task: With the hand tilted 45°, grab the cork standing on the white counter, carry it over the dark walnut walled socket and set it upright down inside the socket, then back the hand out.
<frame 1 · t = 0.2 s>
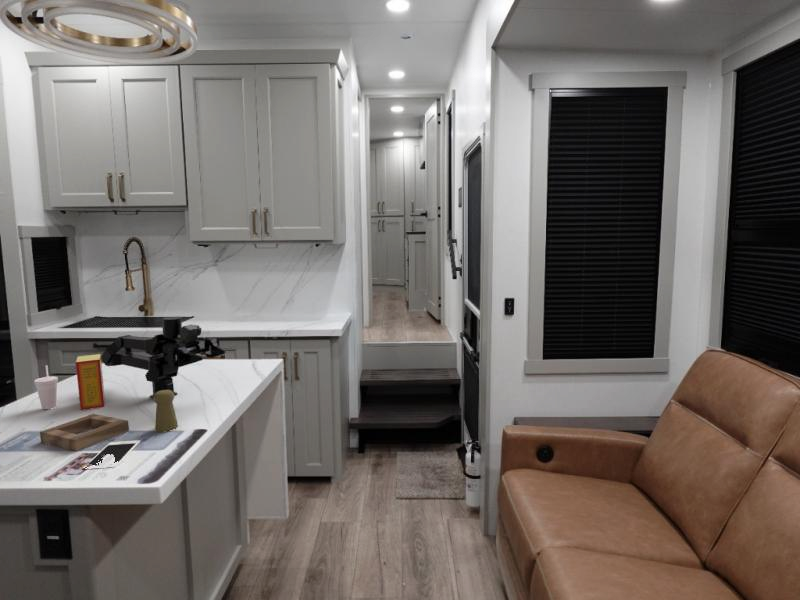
hand: (213, 355, 163), 17 cm above the table, tool horizontal, fingers open, 9 cm apart
smoothie: (49, 408, 167), on the table
walnut socket: (86, 436, 142), on the table
baking soda box: (93, 404, 169), on the table
cork: (166, 429, 147), on the table
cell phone: (113, 456, 130), on the table
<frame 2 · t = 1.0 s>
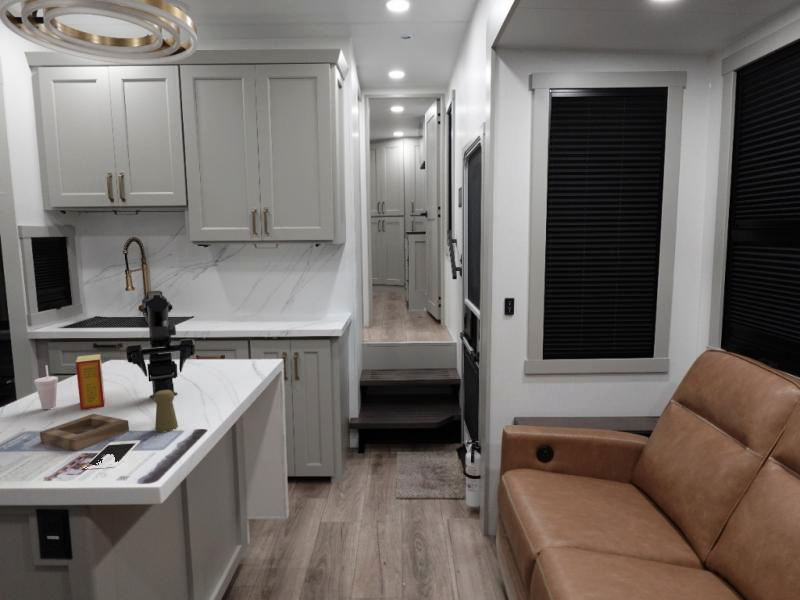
hand: (163, 373, 152), 14 cm above the table, tool tilted 45°, fingers open, 9 cm apart
nothing on the table moved.
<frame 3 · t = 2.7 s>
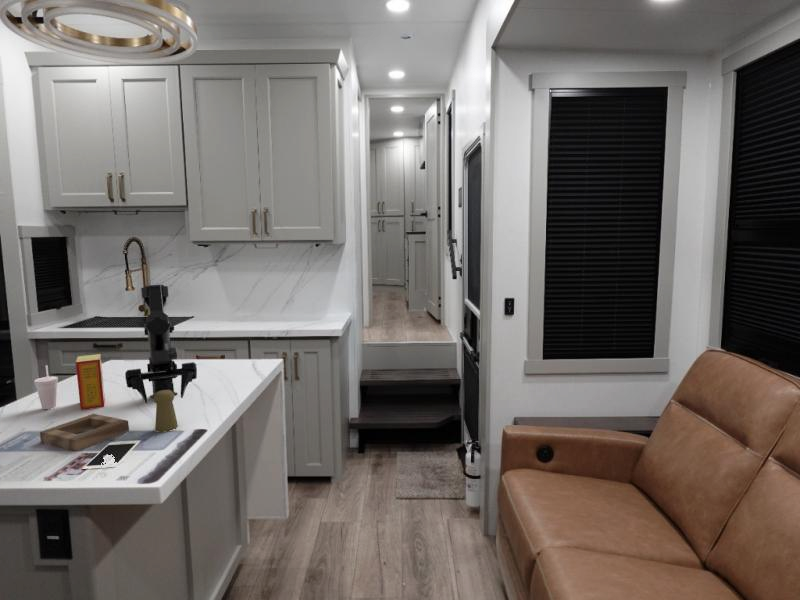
hand: (164, 400, 146), 8 cm above the table, tool tilted 45°, fingers open, 9 cm apart
nothing on the table moved.
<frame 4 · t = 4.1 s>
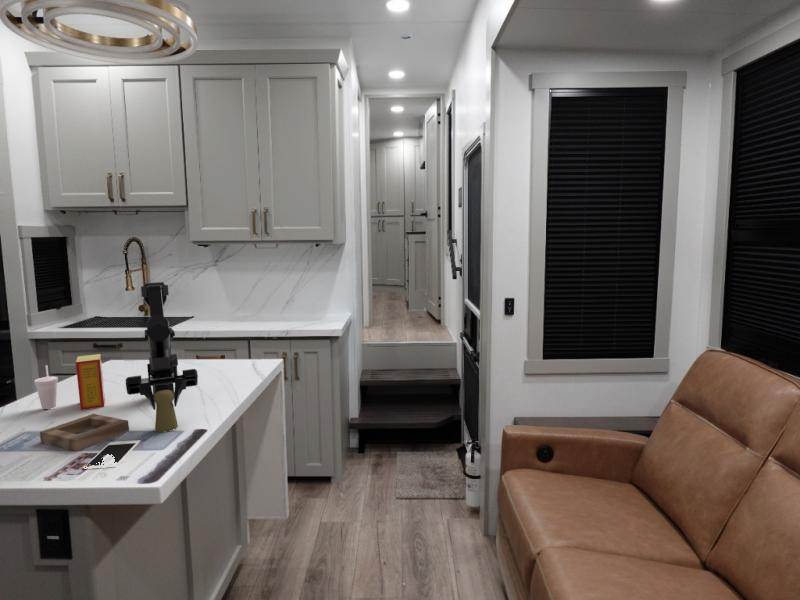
hand: (165, 407, 145), 7 cm above the table, tool tilted 45°, fingers closed on cork, 5 cm apart
cork: (166, 428, 147), on the table, touching gripper
everything else where it was.
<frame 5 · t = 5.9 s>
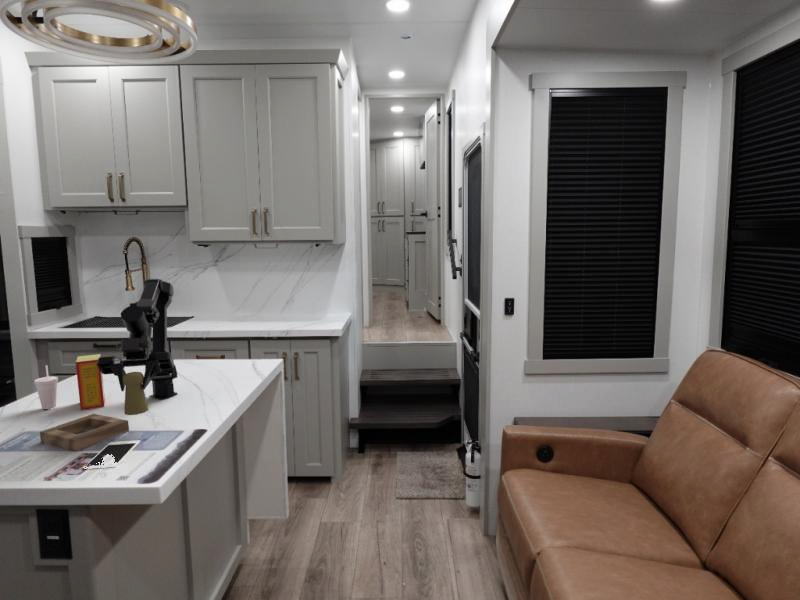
hand: (132, 389, 141), 13 cm above the table, tool tilted 45°, fingers closed on cork, 5 cm apart
cork: (136, 411, 143), point 6 cm above the table, touching gripper
everything else where it was.
when the fingers open (8 cm above the table, at t = 8.2 s): cork stays where it is, resting in walnut socket.
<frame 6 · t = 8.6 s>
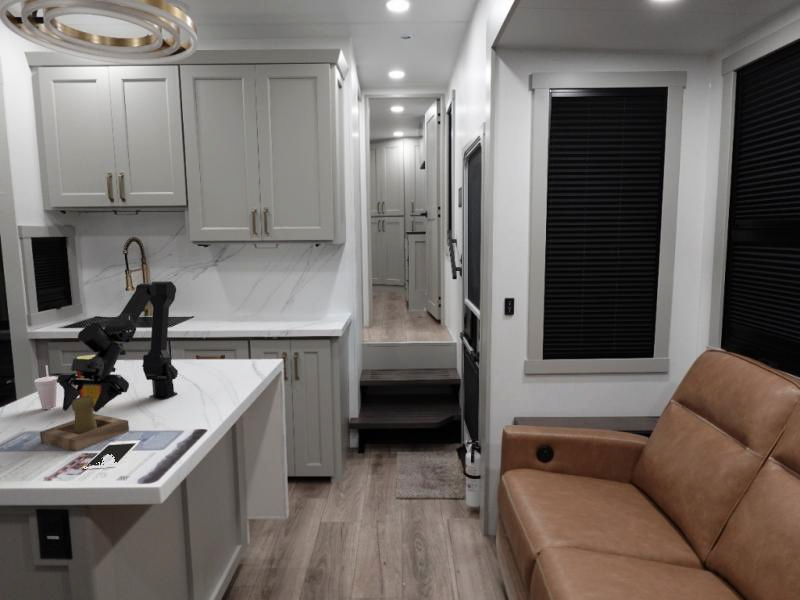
hand: (79, 410, 139), 8 cm above the table, tool tilted 45°, fingers open, 9 cm apart
cork: (86, 436, 142), resting in walnut socket
everything else where it was.
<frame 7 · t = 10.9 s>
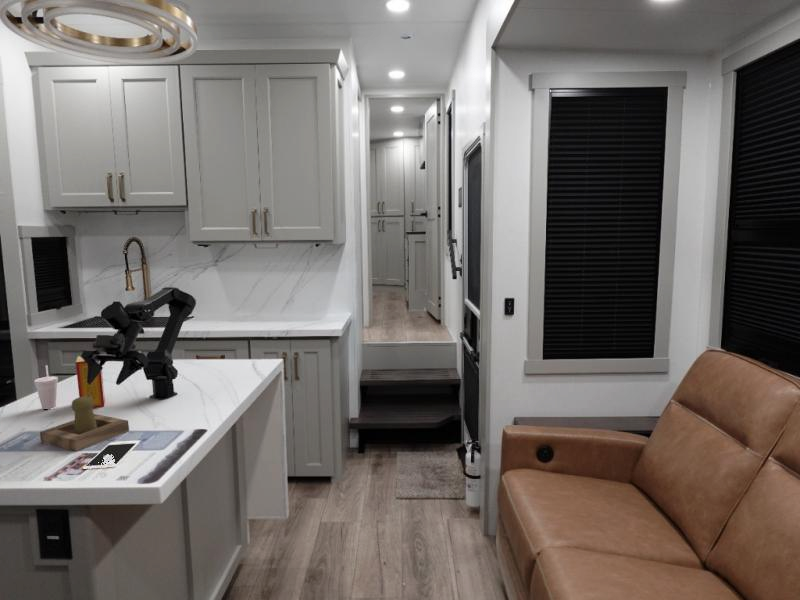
hand: (102, 383, 148), 13 cm above the table, tool tilted 45°, fingers open, 9 cm apart
nothing on the table moved.
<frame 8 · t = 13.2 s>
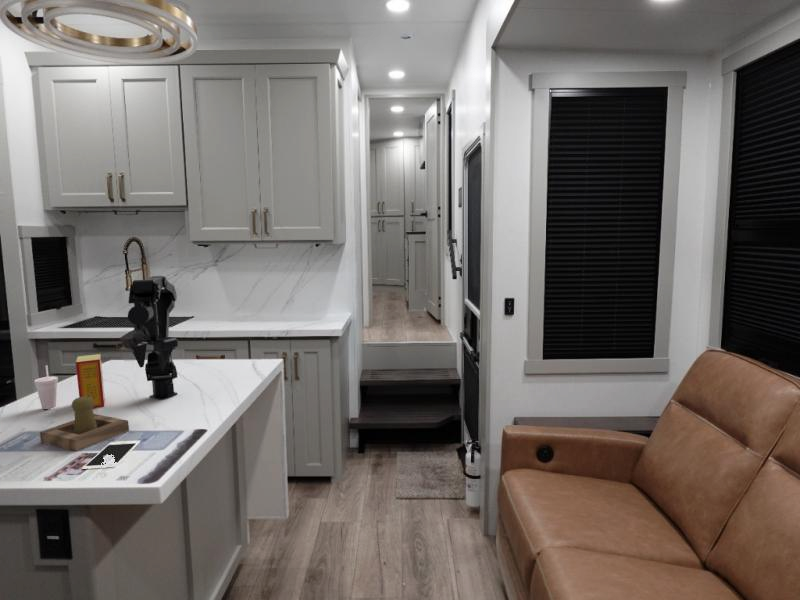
hand: (151, 368, 162), 13 cm above the table, tool pointing down, fingers open, 9 cm apart
nothing on the table moved.
at the end: cork 0.2 cm off-centre on the walnut socket, point 0.0 cm above the walnut socket's base; cork tilted 0°; the gripper is holding nothing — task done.
